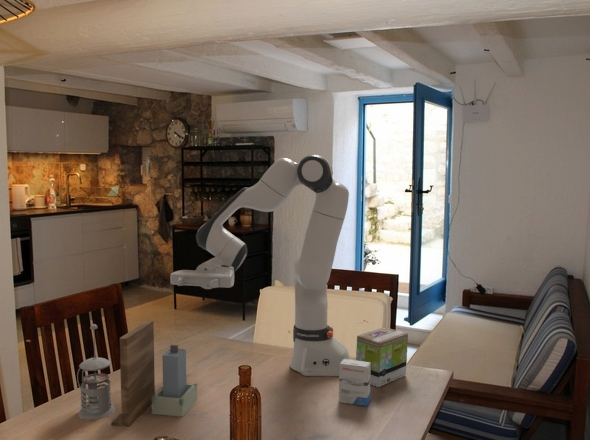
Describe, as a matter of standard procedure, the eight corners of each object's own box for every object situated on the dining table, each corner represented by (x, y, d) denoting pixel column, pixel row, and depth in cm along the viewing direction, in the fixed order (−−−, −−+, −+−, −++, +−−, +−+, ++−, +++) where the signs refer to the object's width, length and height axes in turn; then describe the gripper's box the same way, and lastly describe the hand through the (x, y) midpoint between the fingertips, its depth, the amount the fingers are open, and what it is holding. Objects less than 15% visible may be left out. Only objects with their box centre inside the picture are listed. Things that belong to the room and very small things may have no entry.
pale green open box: (196, 399, 164) (196, 384, 163) (182, 416, 153) (182, 400, 152) (167, 397, 165) (167, 381, 165) (151, 413, 154) (151, 397, 154)
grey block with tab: (186, 392, 161) (185, 342, 160) (178, 401, 155) (177, 349, 154) (171, 391, 162) (170, 341, 160) (163, 400, 156) (162, 348, 155)
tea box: (379, 389, 173) (380, 342, 171) (354, 379, 180) (355, 335, 178) (407, 376, 183) (408, 332, 182) (382, 367, 190) (383, 325, 189)
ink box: (370, 400, 165) (371, 361, 163) (367, 407, 160) (368, 367, 159) (342, 395, 167) (343, 357, 166) (338, 402, 163) (339, 363, 162)
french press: (93, 423, 149) (90, 332, 146) (65, 412, 155) (62, 324, 152) (122, 409, 157) (120, 322, 154) (95, 399, 163) (92, 316, 160)
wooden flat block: (154, 401, 162) (153, 321, 160) (129, 427, 147) (126, 338, 144) (138, 400, 163) (137, 320, 160) (111, 425, 147) (108, 337, 145)
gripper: (179, 264, 186) (162, 272, 173) (238, 267, 183) (225, 275, 169) (179, 282, 187) (162, 292, 173) (238, 285, 183) (225, 295, 170)
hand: (194, 284), depth 171 cm, fingers open, 8 cm apart
